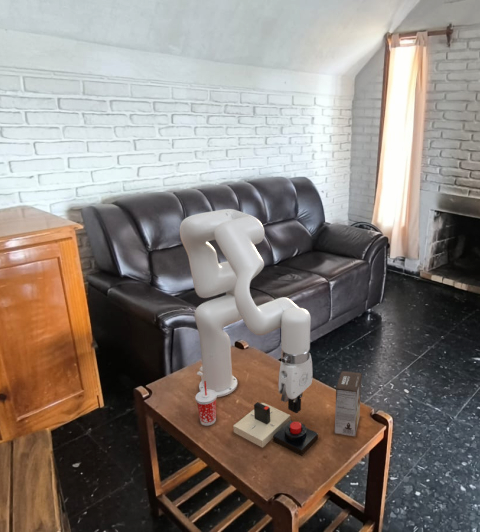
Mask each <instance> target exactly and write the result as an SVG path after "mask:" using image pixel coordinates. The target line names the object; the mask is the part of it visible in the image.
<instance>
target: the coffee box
mask: <svg viewBox="0 0 480 532" xmlns="http://www.w3.org/2000/svg"><path fill="white" fill-rule="evenodd" d="M362 378H363V373H360V372H354V371H343V370H341V373H340V375H339V378H338V380H337V381H338V382H337V385H336V389H335V413H334V434H338V435H343V436H351V437H356V434H357V430H358V427H359V421H360V417H361V416H360V415H361V414H360V413H361V397H362V396H361V395H362V380H363V379H362Z"/></svg>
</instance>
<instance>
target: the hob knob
mask: <svg viewBox="0 0 480 532" xmlns="http://www.w3.org/2000/svg"><path fill="white" fill-rule="evenodd" d="M261 403H262V402H259V401H257V402H256V403H254V404H253V410H254V416H255V419H256V420H259V421H261V422H263V423H265V424H268V423H269V422H270V408H269V407H268V406H265V405H263V404H261Z"/></svg>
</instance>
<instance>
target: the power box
mask: <svg viewBox="0 0 480 532" xmlns="http://www.w3.org/2000/svg"><path fill="white" fill-rule="evenodd" d="M292 422H294V421H293V420H291V419H290V421H289V422H288V423H287V424H286V425H284V426H283V427H282V428H281V429H280V430H279V431H278V432H277V433H276V434H275V435H274V436H273V438H272V441H273V443H274V444H277V445H279V446H281V447H283V448H284V449H286V450H289V451H290V452H292V453H294V454H296V455H298V456H300V457H303V456H304V455H305V454H306V453H307V452H308V451H309V449H310V448H311V447H313V445H314V444H315V443H316V442H317V441H318V440H319V432H316V431H314V430H312V429H310V428H308V427H307V426H306V425H305V424H304V423H302V422H300V421H298V422H299V423H301V432H300V433H299V434H292V433H291V432H290V424H291V423H292Z"/></svg>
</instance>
